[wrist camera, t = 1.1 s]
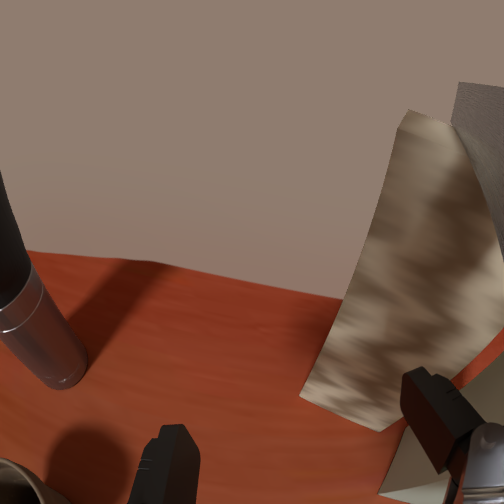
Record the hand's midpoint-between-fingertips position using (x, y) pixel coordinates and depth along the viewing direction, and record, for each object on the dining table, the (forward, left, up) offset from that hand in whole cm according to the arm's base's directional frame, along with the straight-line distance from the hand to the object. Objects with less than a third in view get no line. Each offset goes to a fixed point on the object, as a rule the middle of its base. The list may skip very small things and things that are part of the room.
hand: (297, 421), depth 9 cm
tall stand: (+5, +17, -25) cm, 30 cm away
